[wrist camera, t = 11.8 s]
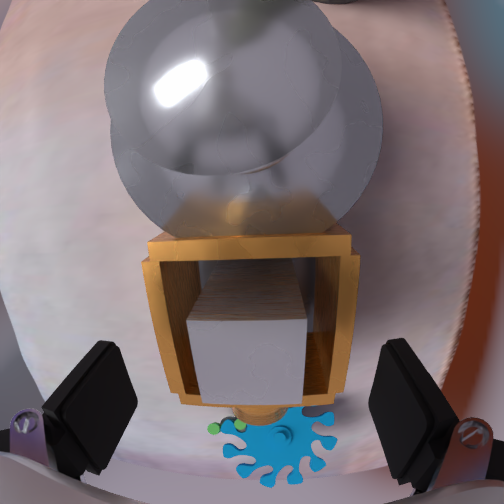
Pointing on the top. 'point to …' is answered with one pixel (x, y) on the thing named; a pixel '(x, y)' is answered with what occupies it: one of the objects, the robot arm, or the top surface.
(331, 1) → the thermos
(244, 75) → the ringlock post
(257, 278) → the tall grey block
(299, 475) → the blue splat shape
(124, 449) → the top surface
